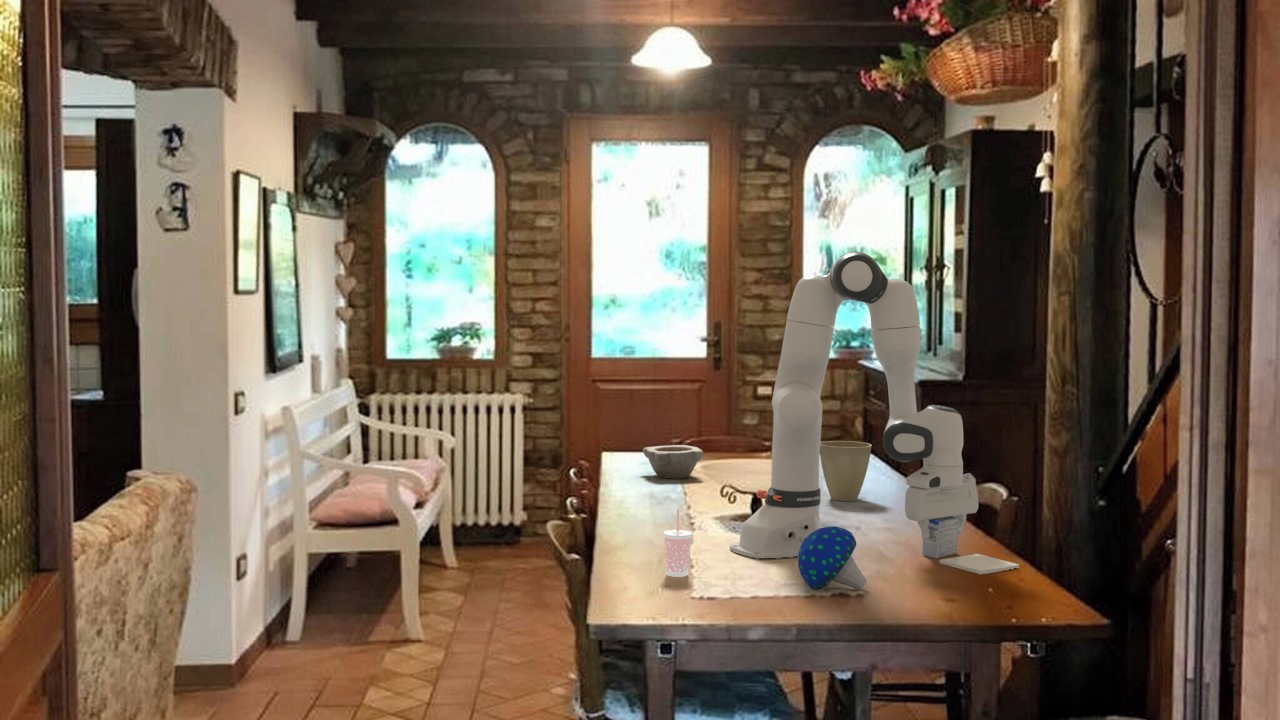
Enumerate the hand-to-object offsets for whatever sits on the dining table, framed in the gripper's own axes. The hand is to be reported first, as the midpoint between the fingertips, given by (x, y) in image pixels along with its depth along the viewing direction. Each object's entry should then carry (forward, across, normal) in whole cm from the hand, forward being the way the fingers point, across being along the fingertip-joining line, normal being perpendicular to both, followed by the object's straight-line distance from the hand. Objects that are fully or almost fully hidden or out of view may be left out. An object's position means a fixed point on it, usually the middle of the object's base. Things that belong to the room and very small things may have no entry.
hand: (942, 536), depth 283 cm
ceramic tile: (+4, 0, +12) cm, 13 cm away
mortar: (+3, -6, -121) cm, 121 cm away
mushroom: (+4, +42, +11) cm, 44 cm away
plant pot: (+4, -28, -65) cm, 71 cm away
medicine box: (+5, 0, 0) cm, 5 cm away
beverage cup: (+4, +63, -14) cm, 65 cm away
